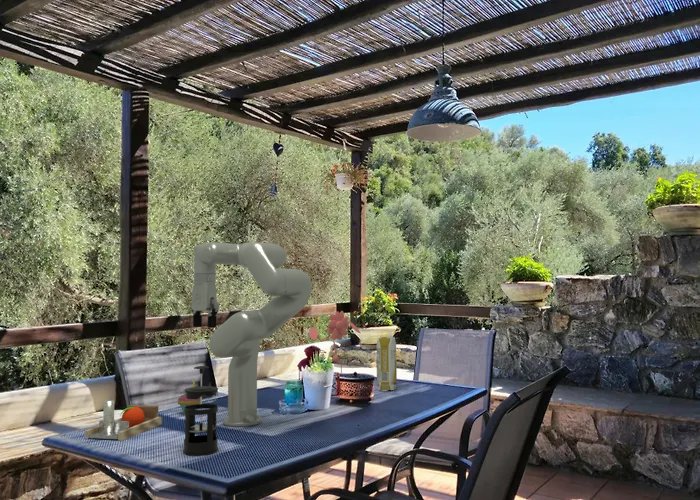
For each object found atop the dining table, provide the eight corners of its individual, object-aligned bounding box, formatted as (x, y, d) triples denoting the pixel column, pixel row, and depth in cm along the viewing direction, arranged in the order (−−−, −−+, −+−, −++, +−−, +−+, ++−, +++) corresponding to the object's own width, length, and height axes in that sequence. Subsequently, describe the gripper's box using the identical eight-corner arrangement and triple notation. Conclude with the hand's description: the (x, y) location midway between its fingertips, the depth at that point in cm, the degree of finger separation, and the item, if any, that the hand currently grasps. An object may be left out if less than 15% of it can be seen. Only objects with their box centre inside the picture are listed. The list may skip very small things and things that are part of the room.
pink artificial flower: (303, 395, 248) (305, 311, 250) (349, 388, 266) (350, 309, 268) (327, 401, 237) (328, 312, 239) (373, 393, 255) (374, 311, 256)
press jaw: (102, 433, 183) (102, 398, 184) (128, 434, 181) (129, 399, 182) (89, 437, 177) (90, 401, 178) (117, 439, 175) (118, 402, 176)
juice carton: (394, 392, 255) (393, 335, 257) (376, 391, 257) (375, 335, 258) (397, 388, 264) (396, 334, 266) (380, 388, 266) (379, 334, 268)
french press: (226, 451, 162) (227, 366, 164) (196, 458, 156) (197, 369, 157) (202, 444, 170) (203, 362, 172) (172, 450, 163) (173, 366, 165)
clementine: (125, 433, 185) (125, 409, 185) (114, 429, 189) (114, 407, 190) (148, 428, 191) (148, 405, 191) (137, 425, 195) (137, 403, 196)
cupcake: (190, 410, 220) (190, 377, 221) (207, 412, 215) (207, 378, 216) (172, 414, 212) (172, 380, 213) (189, 416, 208) (190, 382, 209)
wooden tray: (127, 423, 199) (128, 404, 199) (161, 424, 196) (161, 406, 196) (84, 439, 177) (85, 418, 178) (121, 441, 175) (122, 420, 175)
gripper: (183, 279, 216) (182, 326, 215) (208, 278, 204) (208, 328, 203) (201, 279, 222) (201, 325, 220) (227, 278, 209) (227, 327, 208)
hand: (204, 327), depth 212 cm, fingers open, 9 cm apart
